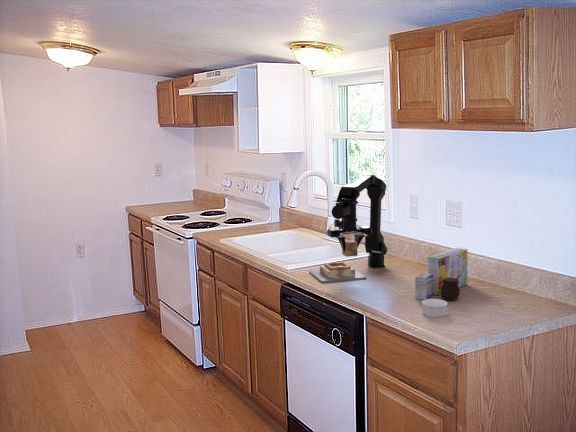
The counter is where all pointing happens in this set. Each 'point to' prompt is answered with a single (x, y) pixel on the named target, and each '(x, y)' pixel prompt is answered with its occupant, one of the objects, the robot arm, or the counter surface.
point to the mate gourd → (450, 289)
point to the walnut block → (350, 248)
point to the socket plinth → (337, 270)
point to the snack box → (448, 267)
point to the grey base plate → (324, 279)
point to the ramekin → (434, 307)
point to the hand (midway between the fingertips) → (349, 251)
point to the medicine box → (424, 286)
